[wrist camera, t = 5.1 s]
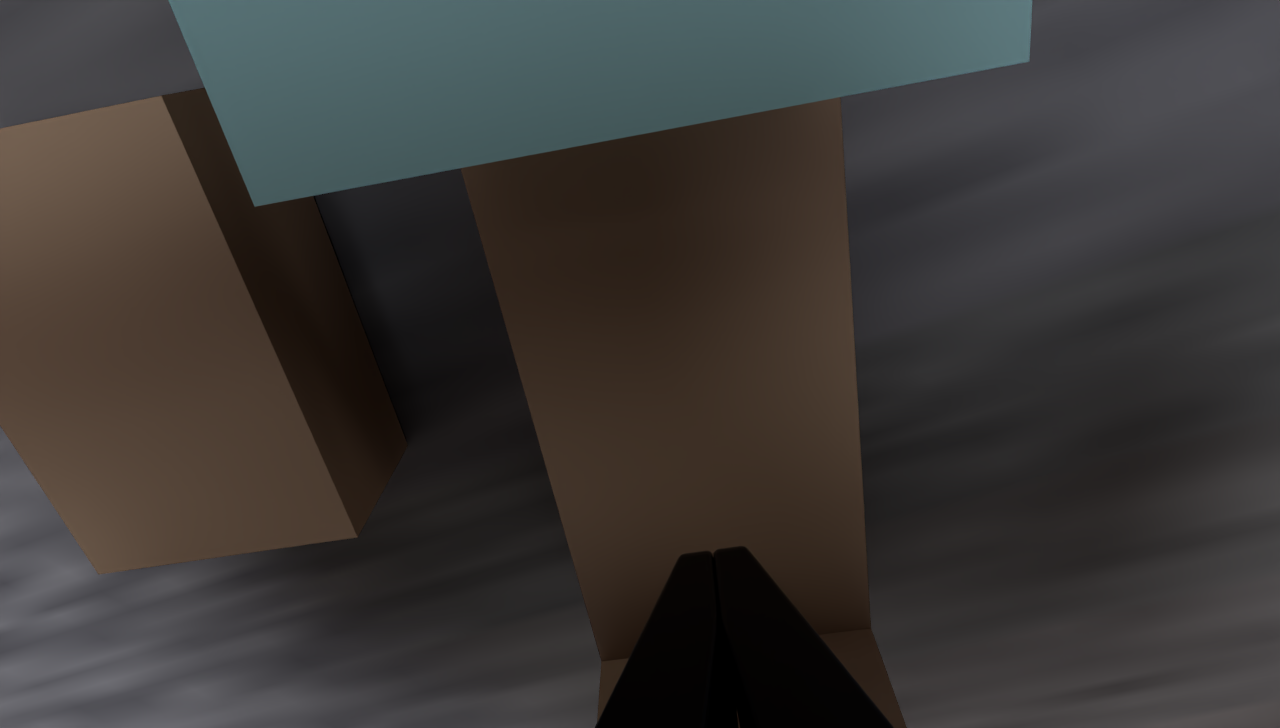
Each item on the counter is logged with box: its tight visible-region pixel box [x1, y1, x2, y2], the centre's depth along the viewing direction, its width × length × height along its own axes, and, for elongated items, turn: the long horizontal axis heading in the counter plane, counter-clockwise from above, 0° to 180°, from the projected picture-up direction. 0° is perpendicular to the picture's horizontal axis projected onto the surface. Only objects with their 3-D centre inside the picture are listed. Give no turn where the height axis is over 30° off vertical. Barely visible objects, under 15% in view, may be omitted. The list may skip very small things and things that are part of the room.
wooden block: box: [461, 97, 907, 728], centre depth 7 cm, size 16×4×6 cm, turn 10°
